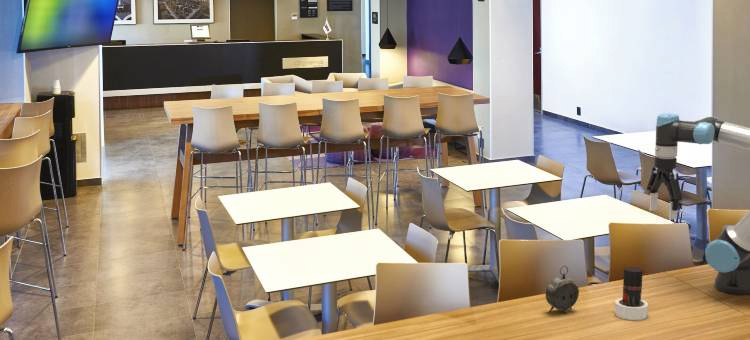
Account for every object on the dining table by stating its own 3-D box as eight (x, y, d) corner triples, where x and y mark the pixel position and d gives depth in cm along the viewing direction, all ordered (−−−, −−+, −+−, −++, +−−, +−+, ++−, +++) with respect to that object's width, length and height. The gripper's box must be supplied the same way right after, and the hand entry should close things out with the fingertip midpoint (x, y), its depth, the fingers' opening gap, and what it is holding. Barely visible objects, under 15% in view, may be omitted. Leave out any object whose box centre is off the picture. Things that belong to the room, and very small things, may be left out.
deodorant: (641, 316, 290) (643, 272, 287) (622, 314, 291) (624, 271, 288) (639, 310, 296) (641, 267, 293) (621, 308, 297) (623, 266, 294)
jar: (637, 308, 300) (638, 296, 299) (653, 318, 290) (653, 306, 289) (609, 310, 298) (610, 299, 297) (624, 321, 288) (624, 309, 287)
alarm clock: (571, 307, 302) (573, 261, 299) (580, 312, 297) (582, 266, 294) (544, 311, 298) (545, 265, 295) (553, 316, 293) (554, 270, 290)
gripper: (638, 151, 326) (636, 207, 330) (674, 163, 302) (671, 223, 306) (657, 150, 327) (654, 206, 331) (694, 162, 303) (691, 222, 307)
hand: (662, 214), depth 319 cm, fingers open, 13 cm apart
